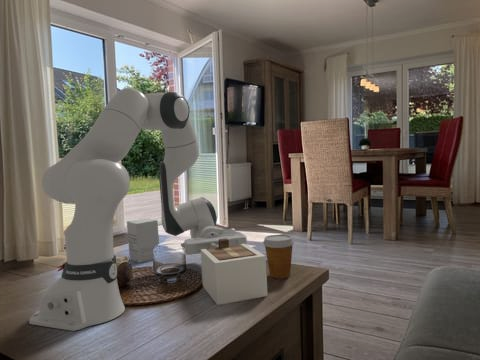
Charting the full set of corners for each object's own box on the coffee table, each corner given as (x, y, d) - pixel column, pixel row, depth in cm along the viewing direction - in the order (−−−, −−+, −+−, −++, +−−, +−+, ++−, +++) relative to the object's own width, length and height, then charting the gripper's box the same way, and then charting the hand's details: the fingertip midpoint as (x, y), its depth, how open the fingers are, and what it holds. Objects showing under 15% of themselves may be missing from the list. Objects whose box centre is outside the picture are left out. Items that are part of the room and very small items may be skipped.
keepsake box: (202, 286, 114) (200, 249, 113) (246, 278, 118) (245, 243, 118) (217, 305, 99) (215, 263, 98) (267, 295, 103) (265, 255, 103)
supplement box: (150, 254, 155) (147, 217, 154) (160, 258, 148) (158, 219, 147) (128, 259, 149) (126, 221, 148) (139, 263, 143) (136, 223, 142)
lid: (206, 253, 115) (205, 240, 115) (238, 249, 118) (237, 236, 118) (219, 265, 102) (218, 250, 101) (254, 260, 105) (254, 245, 105)
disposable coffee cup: (297, 279, 115) (295, 240, 114) (265, 281, 115) (263, 241, 115) (293, 270, 125) (291, 233, 124) (264, 271, 125) (262, 235, 124)
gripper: (179, 234, 126) (187, 242, 113) (238, 227, 133) (252, 234, 120) (180, 253, 126) (188, 263, 113) (238, 245, 133) (253, 254, 120)
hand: (222, 248), depth 117 cm, fingers closed
